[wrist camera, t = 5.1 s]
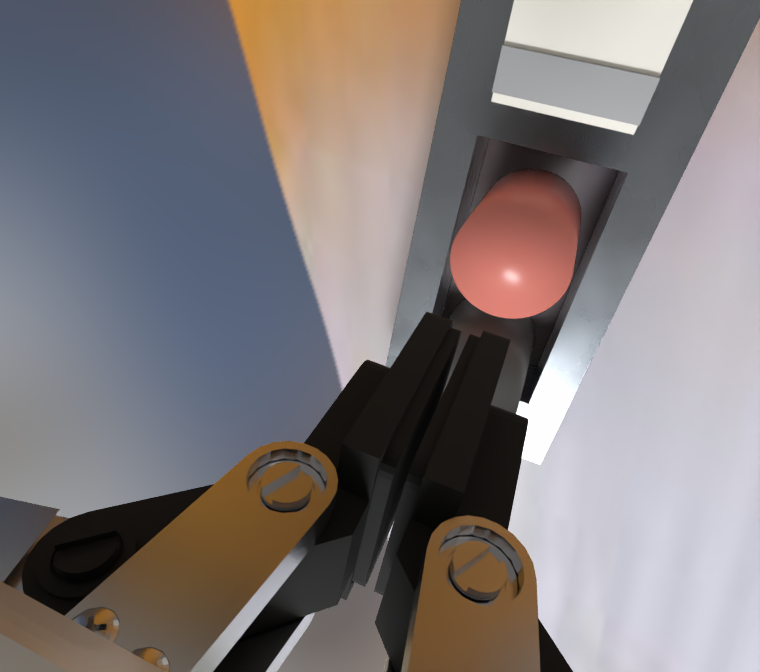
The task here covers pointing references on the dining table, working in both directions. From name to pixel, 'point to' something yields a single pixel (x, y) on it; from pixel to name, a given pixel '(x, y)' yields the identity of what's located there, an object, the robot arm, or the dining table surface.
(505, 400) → the button
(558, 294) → the button
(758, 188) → the dining table surface
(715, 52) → the panel
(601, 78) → the block
